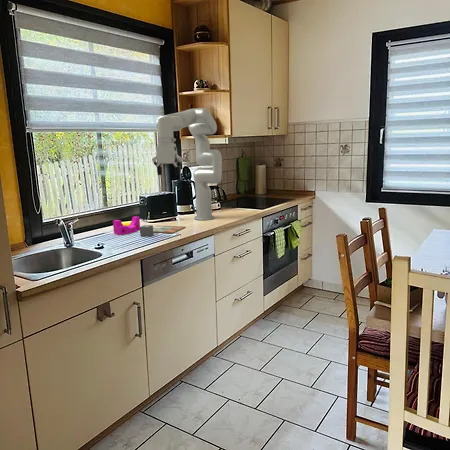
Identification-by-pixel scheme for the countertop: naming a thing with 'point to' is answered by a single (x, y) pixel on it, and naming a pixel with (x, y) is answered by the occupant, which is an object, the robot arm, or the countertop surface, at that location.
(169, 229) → the striped panel
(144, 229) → the die
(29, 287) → the countertop surface
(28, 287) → the countertop surface
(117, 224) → the toy block
